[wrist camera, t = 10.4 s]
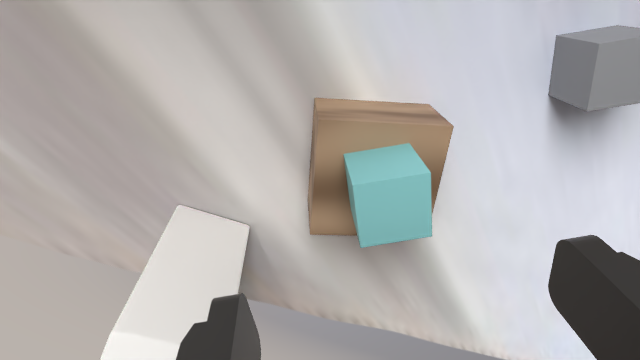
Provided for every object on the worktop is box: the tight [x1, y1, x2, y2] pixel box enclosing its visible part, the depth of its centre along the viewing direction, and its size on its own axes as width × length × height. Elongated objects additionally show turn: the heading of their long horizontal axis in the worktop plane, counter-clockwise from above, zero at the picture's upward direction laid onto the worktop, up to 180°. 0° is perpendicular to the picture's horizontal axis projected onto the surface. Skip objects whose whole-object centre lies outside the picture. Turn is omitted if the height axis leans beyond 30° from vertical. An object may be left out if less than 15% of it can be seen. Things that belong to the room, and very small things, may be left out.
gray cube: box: [548, 25, 640, 112], centre depth 30 cm, size 5×5×5 cm
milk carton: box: [100, 205, 250, 360], centre depth 30 cm, size 7×7×19 cm
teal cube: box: [343, 143, 432, 248], centre depth 27 cm, size 5×5×5 cm
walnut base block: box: [308, 98, 454, 236], centre depth 32 cm, size 10×10×6 cm
